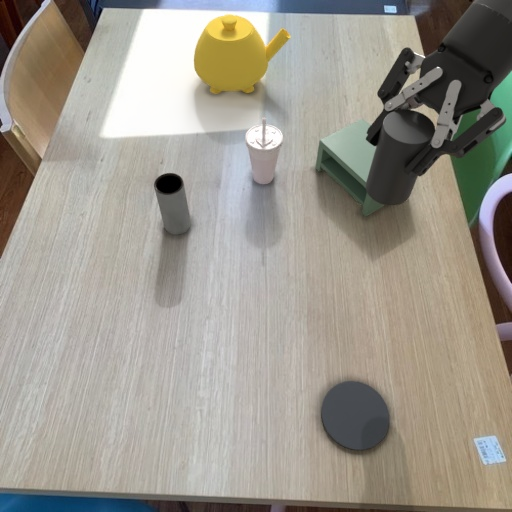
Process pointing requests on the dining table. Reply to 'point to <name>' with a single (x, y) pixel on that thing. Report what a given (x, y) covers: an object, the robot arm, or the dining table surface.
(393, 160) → the dark grey cylinder
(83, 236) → the dining table surface
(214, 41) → the teapot
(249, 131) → the smoothie
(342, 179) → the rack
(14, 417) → the dining table surface
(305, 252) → the dining table surface
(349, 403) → the coaster
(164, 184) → the planter
